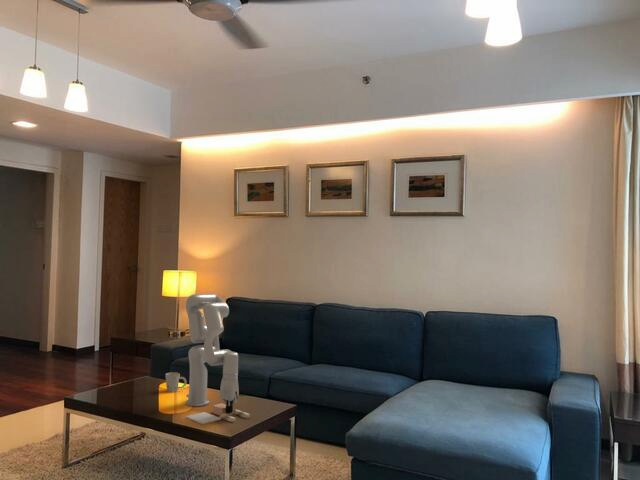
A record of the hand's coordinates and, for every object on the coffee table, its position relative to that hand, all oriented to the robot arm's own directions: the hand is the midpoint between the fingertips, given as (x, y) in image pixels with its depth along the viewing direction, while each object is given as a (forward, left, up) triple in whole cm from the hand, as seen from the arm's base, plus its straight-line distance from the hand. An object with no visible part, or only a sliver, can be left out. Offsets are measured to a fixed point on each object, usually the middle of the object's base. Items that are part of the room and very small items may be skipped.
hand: (229, 412), depth 263 cm
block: (-6, 0, -2) cm, 6 cm away
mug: (-60, +7, -2) cm, 60 cm away
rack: (+5, 0, -2) cm, 5 cm away
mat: (-5, -12, -2) cm, 13 cm away
